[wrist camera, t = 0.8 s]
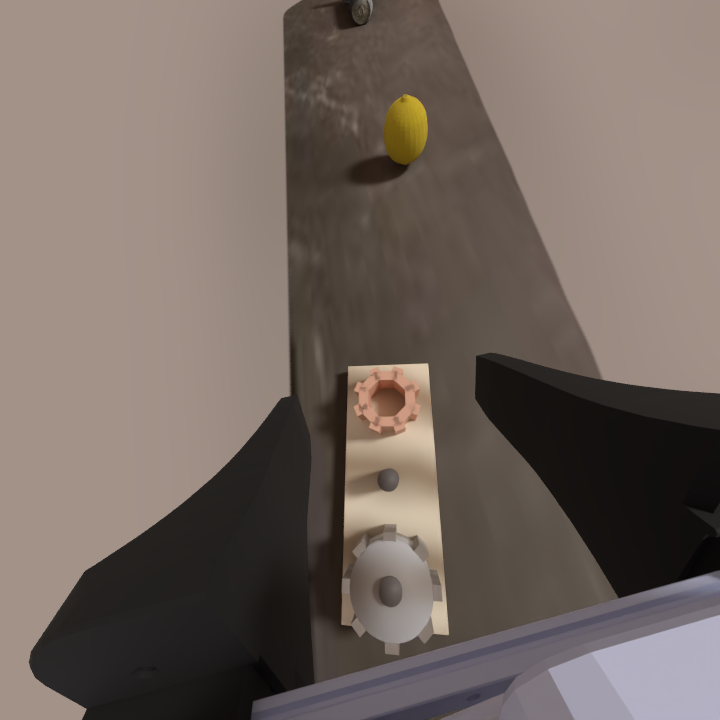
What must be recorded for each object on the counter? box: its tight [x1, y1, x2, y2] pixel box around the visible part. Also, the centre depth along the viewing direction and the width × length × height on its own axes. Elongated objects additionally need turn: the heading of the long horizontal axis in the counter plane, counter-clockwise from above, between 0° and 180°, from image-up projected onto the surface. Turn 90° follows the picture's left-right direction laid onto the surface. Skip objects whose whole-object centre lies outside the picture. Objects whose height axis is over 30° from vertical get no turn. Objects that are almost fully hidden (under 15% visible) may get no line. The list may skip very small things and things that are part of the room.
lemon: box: [384, 94, 428, 165], centre depth 36 cm, size 6×6×8 cm
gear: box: [354, 366, 421, 435], centre depth 25 cm, size 6×6×3 cm
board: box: [341, 364, 449, 655], centre depth 24 cm, size 21×8×5 cm, turn 0°
